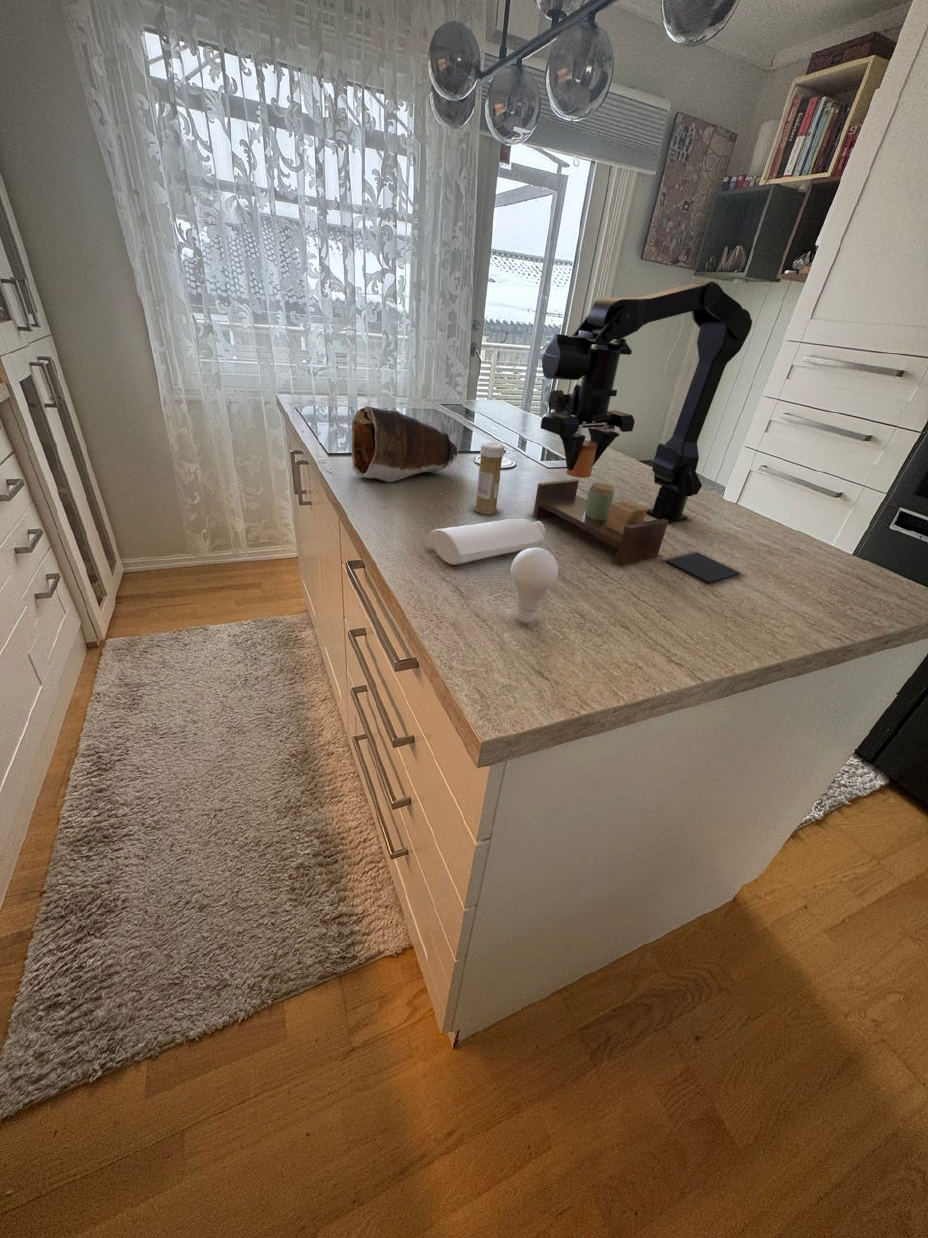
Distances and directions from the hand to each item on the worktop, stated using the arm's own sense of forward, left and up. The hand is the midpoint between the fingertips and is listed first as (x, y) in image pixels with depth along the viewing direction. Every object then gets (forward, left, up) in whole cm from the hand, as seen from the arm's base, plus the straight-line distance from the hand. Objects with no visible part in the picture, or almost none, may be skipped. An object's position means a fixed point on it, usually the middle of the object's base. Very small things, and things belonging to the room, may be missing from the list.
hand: (579, 468), depth 100 cm
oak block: (0, +14, -7) cm, 16 cm away
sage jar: (0, +7, -7) cm, 10 cm away
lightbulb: (+32, +27, -11) cm, 43 cm away
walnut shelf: (0, +7, -11) cm, 13 cm away
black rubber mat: (-9, +26, -11) cm, 30 cm away
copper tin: (0, 0, -1) cm, 1 cm away
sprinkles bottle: (+13, -11, -11) cm, 21 cm away
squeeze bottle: (+23, +6, -11) cm, 26 cm away
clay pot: (+17, -38, -11) cm, 43 cm away
